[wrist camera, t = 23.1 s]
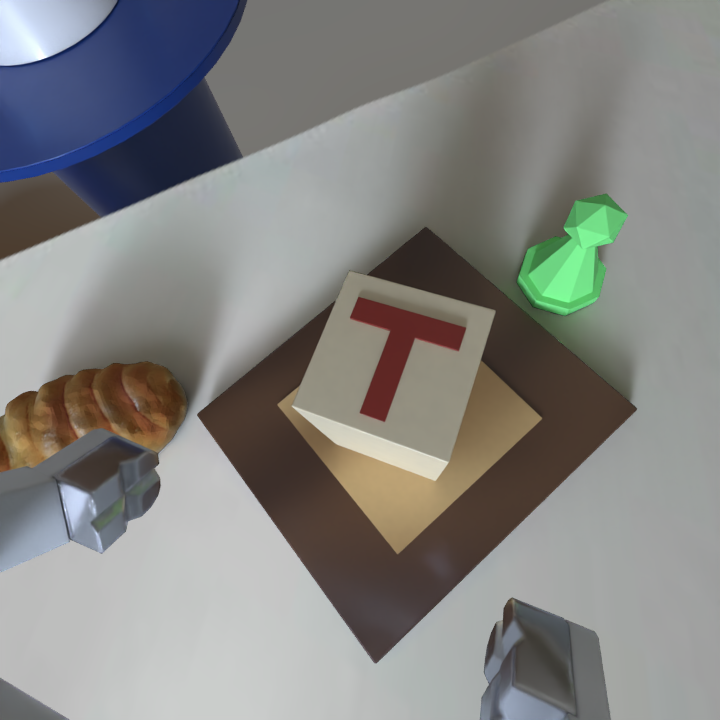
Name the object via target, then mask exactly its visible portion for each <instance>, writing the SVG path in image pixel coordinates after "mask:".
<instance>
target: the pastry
mask: <svg viewBox="0 0 720 720" xmlns="http://www.w3.org/2000/svg"><path fill="white" fill-rule="evenodd" d="M187 405H188V404H187V399H186V396H185V393H184V390H183V388H182V386H181V385H180V383H179V382H178V381H177V380H176V379H175V378H174V376H173V375H172V373H171V372H170V371H169V370H168V369H167V368H165V367H164V366H160V365H158V364H154V363H152V362H148V361H145V362H139V363H136V364H120V363H113V364H111V365H110V366H108V367H106V368H104V369H86V370H81V371H79V372H78V373H77V374H76V375H65V376H62V377H60V378H58V379H56V380H54V381H51V382H48V383H45V384H44V385H42V386H41V388H40V389H39V392H36V391H28V392H25V393H22V394H21V395H19V396H17V397H16V398H15V399H13V400H12V401H10V402H9V403H8V404H7V406H6V409H5V415H3V416H1V417H0V472H4V471H8V470H12V469H17V468H21V467H25V466H28V467H30V468H33V467H35V466H36V465H38V464H40V463H41V462H43V461H44V460H46V459H48V458H49V457H51V456H52V455H54V454H55V453H57V452H59V451H60V450H62V449H63V448H65V447H67V446H68V445H70V444H71V443H73V442H74V441H76V440H78V439H79V438H81V437H82V436H84V435H86V434H87V433H89V432H90V431H92V430H94V429H99V428H103V429H105V430H108V431H110V432H112V433H115V434H117V435H119V436H122V437H124V438H126V439H128V440H131V441H133V442H135V443H137V444H140V445H142V446H144V447H146V448H148V449H151V450H153V451H155V452H157V453H159V452H160V451H161V450H162V449H163V448H164V447H165V446H166V445H167V444H168V443H169V442H170V441H171V440H172V439H173V437H174V435H175V434H176V432H177V430H178V428H179V427H180V425H181V424H182V422H183V421H184V419H185V416H186V411H187Z"/></svg>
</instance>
